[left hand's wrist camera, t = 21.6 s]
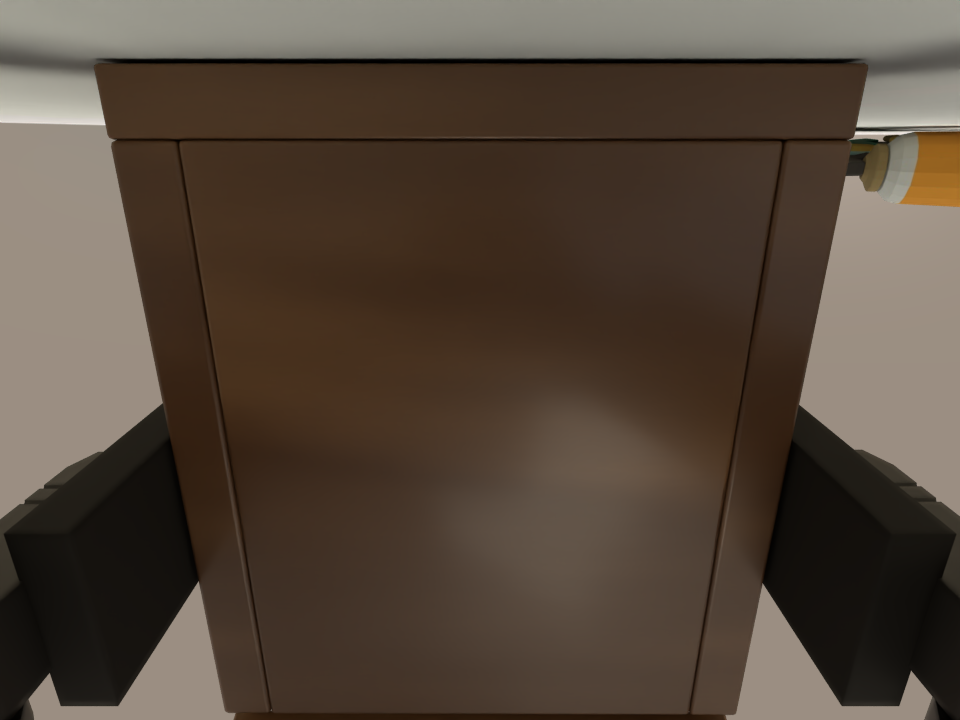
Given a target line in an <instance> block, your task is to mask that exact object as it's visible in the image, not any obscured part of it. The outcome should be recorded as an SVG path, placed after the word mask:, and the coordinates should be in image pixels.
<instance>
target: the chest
mask: <svg viewBox="0 0 960 720" xmlns="http://www.w3.org/2000/svg"><path fill="white" fill-rule="evenodd" d="M94 70H95V75H96V80H97V84H98V89H99V94H100V99H101V104H102V109H103V114H104V119H105V124H106V129H107V134H108V136H109V138H111V139H114V140H115V141H113V142H112V145H111V148H112V153H113V158H114V163H115V168H116V173H117V178H118V183H119V188H120V193H121V198H122V203H123V208H124V212H125V217H126V222H127V227H128V232H129V237H130V242H131V247H132V252H133V257H134V262H135V267H136V272H137V277H138V282H139V287H140V292H141V297H142V302H143V307H144V312H145V317H146V322H147V327H148V332H149V336H150V341H151V346H152V351H153V356H154V361H155V366H156V371H157V376H158V381H159V386H160V391H161V396H162V401H163V406H164V411H165V416H166V421H167V426H168V431H169V436H170V441H171V446H172V450H173V455H174V460H175V465H176V470H177V475H178V480H179V485H180V490H181V495H182V500H183V505H184V510H185V515H186V520H187V525H188V530H189V535H190V540H191V545H192V550H193V555H194V560H195V565H196V569H197V574H198V579H199V584H200V589H201V594H202V599H203V604H204V609H205V614H206V619H207V624H208V629H209V634H210V639H211V644H212V649H213V654H214V659H215V664H216V669H217V674H218V678H219V683H220V688H221V693H222V698H223V703H224V708H225V711H226V712H228V713H268V712H270V711H271V709H272V712H273V713H302V714H615V715H686V714H688V713H689V712H690V714H692V715H734V714H736V711H737V706H738V701H739V696H740V691H741V686H742V681H743V676H744V672H745V667H746V662H747V657H748V652H749V647H750V642H751V637H752V632H753V627H754V622H755V618H756V613H757V608H758V603H759V598H760V593H761V588H762V583H763V578H764V574H765V569H766V564H767V559H768V554H769V549H770V544H771V539H772V534H773V529H774V524H775V520H776V515H777V510H778V505H779V500H780V495H781V490H782V485H783V480H784V475H785V471H786V466H787V461H788V456H789V451H790V446H791V441H792V436H793V431H794V426H795V421H796V417H797V412H798V407H799V402H800V397H801V392H802V387H803V382H804V377H805V372H806V367H807V363H808V358H809V353H810V348H811V343H812V338H813V333H814V328H815V323H816V318H817V314H818V309H819V304H820V299H821V294H822V289H823V284H824V279H825V274H826V269H827V265H828V260H829V255H830V250H831V245H832V240H833V235H834V230H835V225H836V220H837V215H838V211H839V206H840V201H841V196H842V191H843V186H844V181H845V176H846V171H847V166H848V162H849V157H850V152H851V147H852V144H851V142H850V141H848V140H849V139H851V138H853V137H854V135H855V130H856V125H857V120H858V115H859V110H860V105H861V101H862V96H863V91H864V86H865V81H866V76H867V71H868V65H866V64H864V63H98V64H96V65H94Z"/></svg>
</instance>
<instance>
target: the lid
mask: <svg viewBox="0 0 960 720" xmlns="http://www.w3.org/2000/svg"><path fill="white" fill-rule="evenodd" d="M234 720H727V719H726V716H725V715H692V714H690V712H689V713H688V714H686V715H615V714H302V713H273V712H272V711H270V712H268V713H236V714H235V717H234Z"/></svg>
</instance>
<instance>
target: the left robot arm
mask: <svg viewBox="0 0 960 720" xmlns="http://www.w3.org/2000/svg"><path fill="white" fill-rule="evenodd" d="M916 484H917V483H916V482H915V481H914V480H912V479H911V478H910V477H908V476H907V475H906V474H905V473H903V472H902V471H901V470H899V469H898V468H897V467H896V466H894V465H893V464H891V463H888V462H886V461H884V460H882V459H880V458H878V457H876V456H874V455H872V454H870V453H868V452H866V451H864V450H854V449H853V448H851V447H850V446H849V445H848V444H846V443H845V442H844V441H843V440H842V439H840V438H839V437H838V436H837V435H835V434H834V433H833V432H832V431H831V430H829V429H828V428H827V427H826V426H824V425H823V424H822V423H821V422H819V421H818V420H817V419H816V418H815V417H813V416H812V415H811V414H810V413H809V412H807V411H806V410H805V409H804V408H802V407H801V406H800V405H799V407H798V412H797V417H796V421H795V426H794V431H793V436H792V441H791V446H790V451H789V456H788V461H787V466H786V471H785V475H784V480H783V485H782V490H781V495H780V500H779V505H778V510H777V515H776V520H775V524H774V529H773V534H772V539H771V544H770V549H769V554H768V559H767V564H766V569H765V574H764V578H763V584H764V586H765V587H766V589H767V590H768V592H769V594H770V595H771V597H772V598H773V600H774V601H775V603H776V604H777V606H778V608H779V609H780V611H781V612H782V614H783V615H784V617H785V618H786V620H787V622H788V623H789V625H790V626H791V628H792V629H793V631H794V632H795V634H796V635H797V637H798V638H799V640H800V642H801V643H802V645H803V646H804V648H805V649H806V651H807V653H808V654H809V656H810V657H811V659H812V660H813V662H814V663H815V665H816V667H817V668H818V670H819V671H820V673H821V674H822V676H823V677H824V679H825V681H826V682H827V684H828V685H829V687H830V688H831V690H832V691H833V693H834V695H835V696H836V698H837V699H838V701H839V702H840V704H841V705H842V706H899V705H900V702H901V699H902V696H903V693H904V690H905V687H906V684H907V681H908V678H909V675H910V672H911V671H912V672H913V673H914V674H915V676H916V677H917V678H918V679H919V681H920V682H921V683H922V684H923V685H924V687H925V688H926V689H927V690H928V691H929V693H930V694H931V695H932V696H933V697H932V700H931V703H930V705H929V708H928V711H927V714H926V717H925V719H924V720H960V516H959V515H957V514H956V513H955V512H953V511H952V510H951V509H950V508H948V507H947V506H946V505H944V504H943V503H942V502H936V498H935V497H934V496H933V495H932V494H930V493H929V492H928V491H926V490H925V489H924V488H923V487H921V486H917V485H916ZM198 581H199V579H198V574H197V569H196V565H195V560H194V555H193V550H192V545H191V540H190V535H189V530H188V525H187V520H186V515H185V510H184V505H183V500H182V495H181V490H180V485H179V480H178V475H177V470H176V465H175V460H174V455H173V450H172V446H171V441H170V436H169V431H168V426H167V421H166V416H165V411H164V406H163V404H161V405H160V406H159V407H158V408H156V409H155V410H154V411H153V412H152V413H150V414H149V415H148V416H147V417H145V418H144V419H143V420H142V421H141V422H139V423H138V424H137V425H136V426H134V427H133V428H132V429H131V430H130V431H128V432H127V433H126V434H125V435H123V436H122V437H121V438H120V439H119V440H117V441H116V442H115V443H114V444H112V445H111V446H110V447H109V448H108V449H106V450H105V451H104V452H97V453H95V454H93V455H91V456H89V457H87V458H85V459H83V460H81V461H79V462H77V463H75V464H73V465H70V466H68V467H67V468H65V469H64V470H63V471H62V472H60V473H59V474H58V475H56V476H55V477H54V478H53V479H51V480H50V481H49V482H47V483H46V484H45V485H44V489H39V490H37V491H36V492H35V493H34V494H32V495H31V496H30V497H28V498H27V499H26V500H25V503H24V504H19V505H18V506H17V507H16V508H14V509H13V510H12V511H10V512H9V513H8V514H7V515H5V516H4V517H3V518H2V519H0V720H34V716H33V711H32V708H31V705H30V703H29V700H28V699H29V697H30V696H31V695H32V694H33V693H34V691H35V690H36V689H37V688H38V686H39V685H40V684H41V683H42V681H43V680H44V679H45V678H46V677H47V675H48V674H49V673H50V675H51V678H52V681H53V684H54V687H55V690H56V693H57V696H58V699H59V702H60V705H61V706H118V705H119V704H120V702H121V701H122V699H123V698H124V696H125V695H126V693H127V691H128V690H129V688H130V687H131V685H132V684H133V682H134V680H135V679H136V677H137V676H138V674H139V673H140V671H141V670H142V668H143V667H144V665H145V663H146V662H147V660H148V659H149V657H150V656H151V654H152V653H153V651H154V649H155V648H156V646H157V645H158V643H159V642H160V640H161V639H162V637H163V636H164V634H165V632H166V631H167V629H168V628H169V626H170V625H171V623H172V622H173V620H174V618H175V617H176V615H177V614H178V612H179V611H180V609H181V608H182V606H183V604H184V603H185V601H186V600H187V598H188V597H189V595H190V594H191V592H192V590H193V589H194V587H195V586H196V584H197V583H198Z"/></svg>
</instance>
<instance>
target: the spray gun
mask: <svg viewBox="0 0 960 720" xmlns="http://www.w3.org/2000/svg"><path fill="white" fill-rule="evenodd" d="M883 140H884V141H885V142H878V140H875V139H855V140H848V141H850V142H851V144H852V147H851V152H850V157H849V162H848V166H847V171H846V176H860V179H861V181H862V182H863V185H864V188H865V190H866V191H877V192H878V193H879V195H880V196H881V197H882V198H883V200H885V201H888V202H892V203H895V204H913V205H933V206H953V207H960V131H943V132H912V133H907V134H903V135H889V136H885V137H884V138H883Z"/></svg>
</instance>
